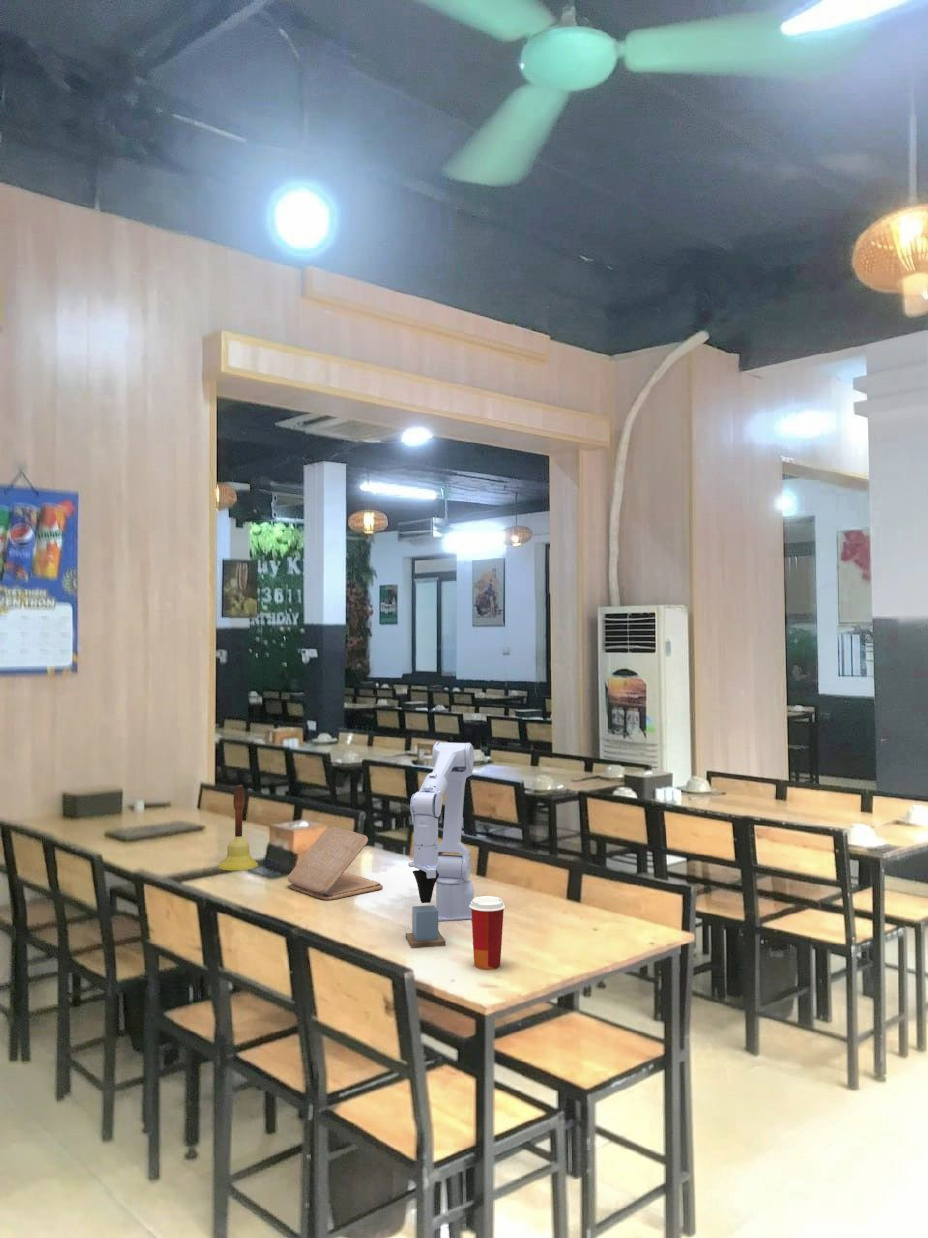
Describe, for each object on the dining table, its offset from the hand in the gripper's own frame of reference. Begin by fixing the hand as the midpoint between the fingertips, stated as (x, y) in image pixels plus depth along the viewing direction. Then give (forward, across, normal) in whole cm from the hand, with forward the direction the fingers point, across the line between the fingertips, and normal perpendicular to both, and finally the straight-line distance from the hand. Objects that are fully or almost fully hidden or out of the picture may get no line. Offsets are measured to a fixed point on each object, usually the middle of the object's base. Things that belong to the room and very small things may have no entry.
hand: (425, 902), depth 224 cm
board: (+9, 0, 0) cm, 9 cm away
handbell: (+9, -87, -43) cm, 98 cm away
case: (+10, -53, -16) cm, 56 cm away
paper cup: (+9, +19, +10) cm, 23 cm away
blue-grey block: (+8, 0, 0) cm, 8 cm away
